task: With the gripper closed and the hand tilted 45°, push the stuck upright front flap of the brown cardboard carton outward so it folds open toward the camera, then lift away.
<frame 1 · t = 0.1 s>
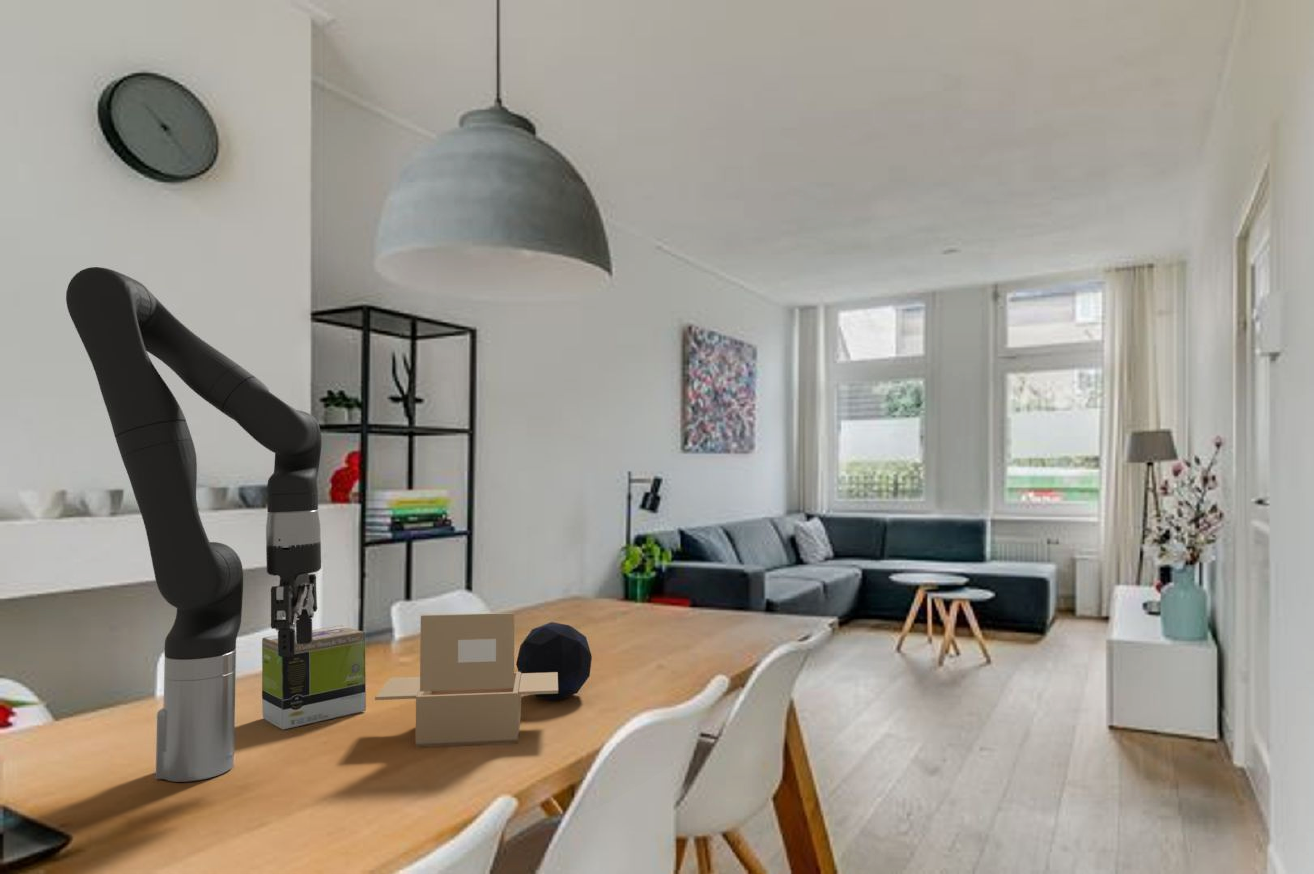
hand: (296, 649, 122), 17 cm above the table, tool pointing down, fingers open, 8 cm apart
tea box: (313, 716, 146), on the table
front flap: (467, 651, 131), point 15 cm above the table, hinge at 0.0°
carton: (471, 731, 137), on the table
decorative orb: (554, 698, 158), on the table
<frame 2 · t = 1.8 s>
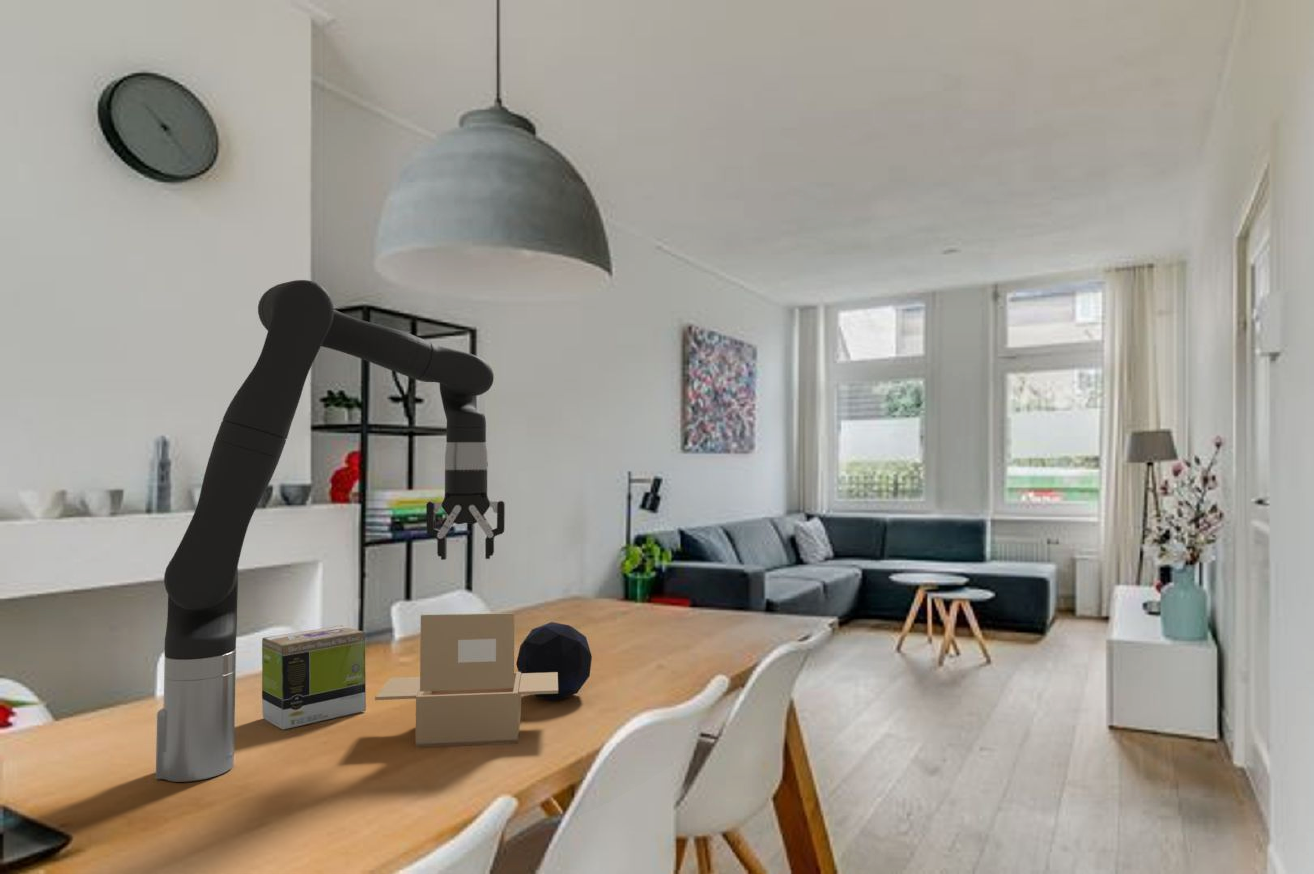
hand: (466, 558, 147), 28 cm above the table, tool pointing down, fingers open, 7 cm apart
nothing on the table moved.
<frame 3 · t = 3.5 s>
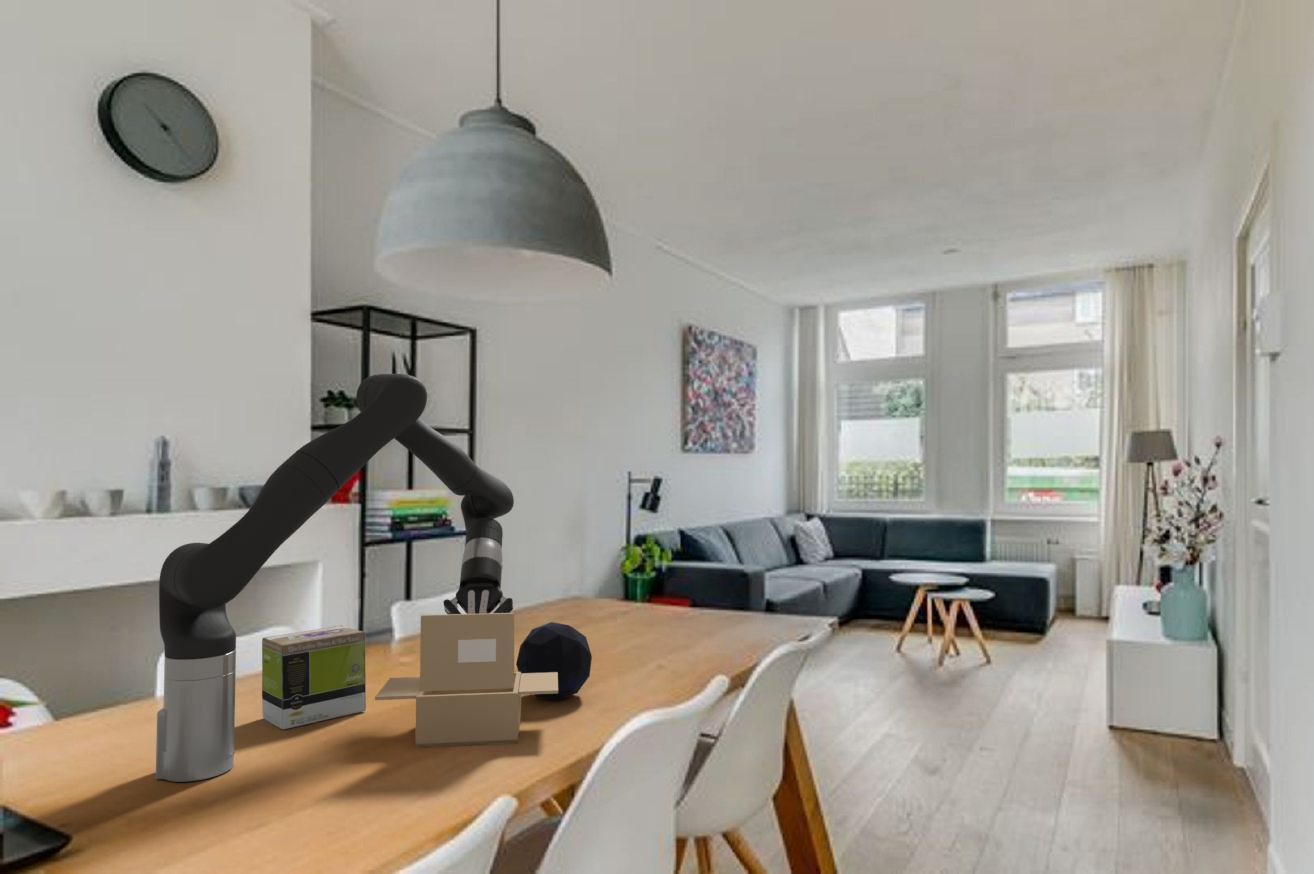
hand: (475, 647, 142), 13 cm above the table, tool tilted 45°, fingers closed
nothing on the table moved.
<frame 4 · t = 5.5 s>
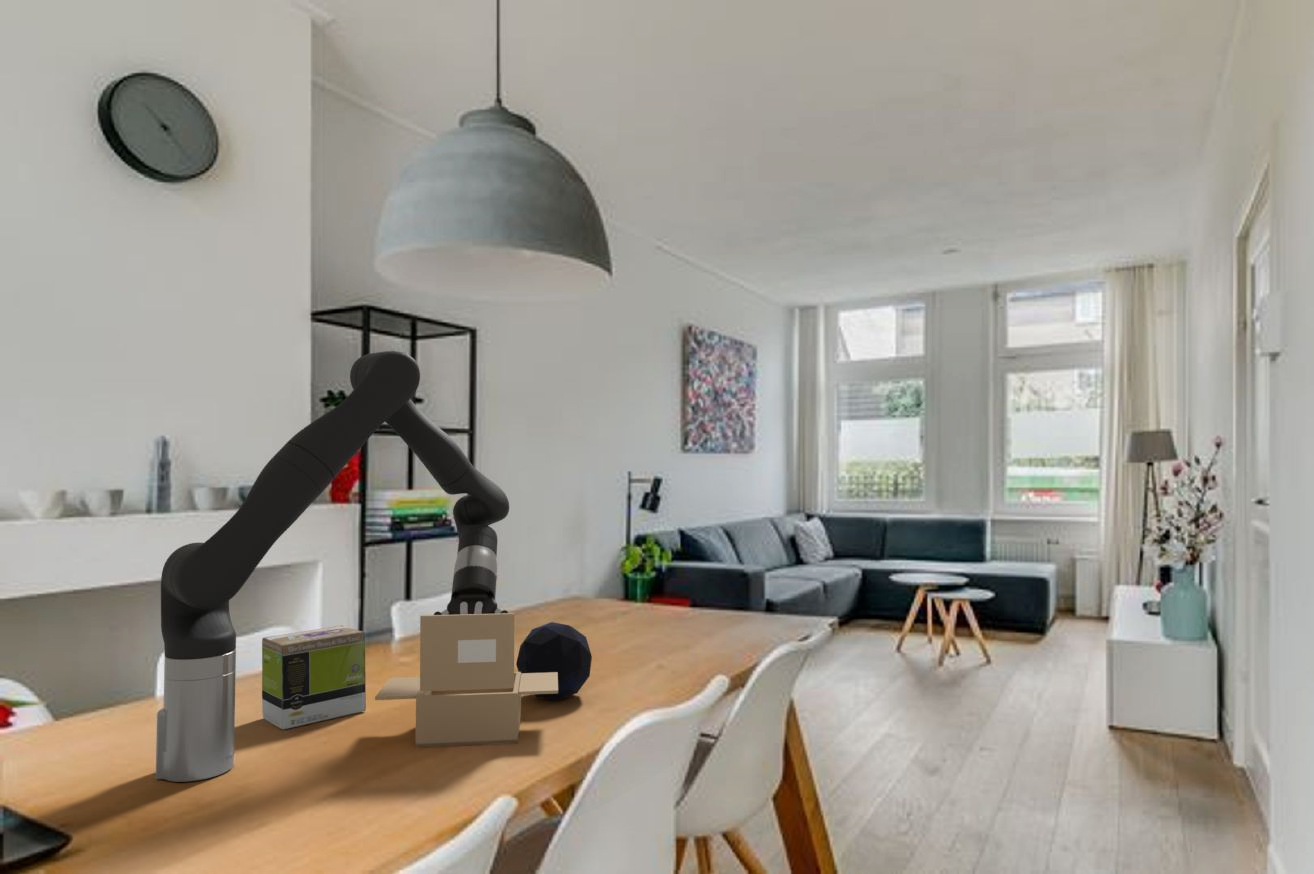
hand: (467, 663, 132), 13 cm above the table, tool tilted 45°, fingers closed
front flap: (467, 651, 131), point 15 cm above the table, hinge at 1.7°, touching gripper
everything else where it was.
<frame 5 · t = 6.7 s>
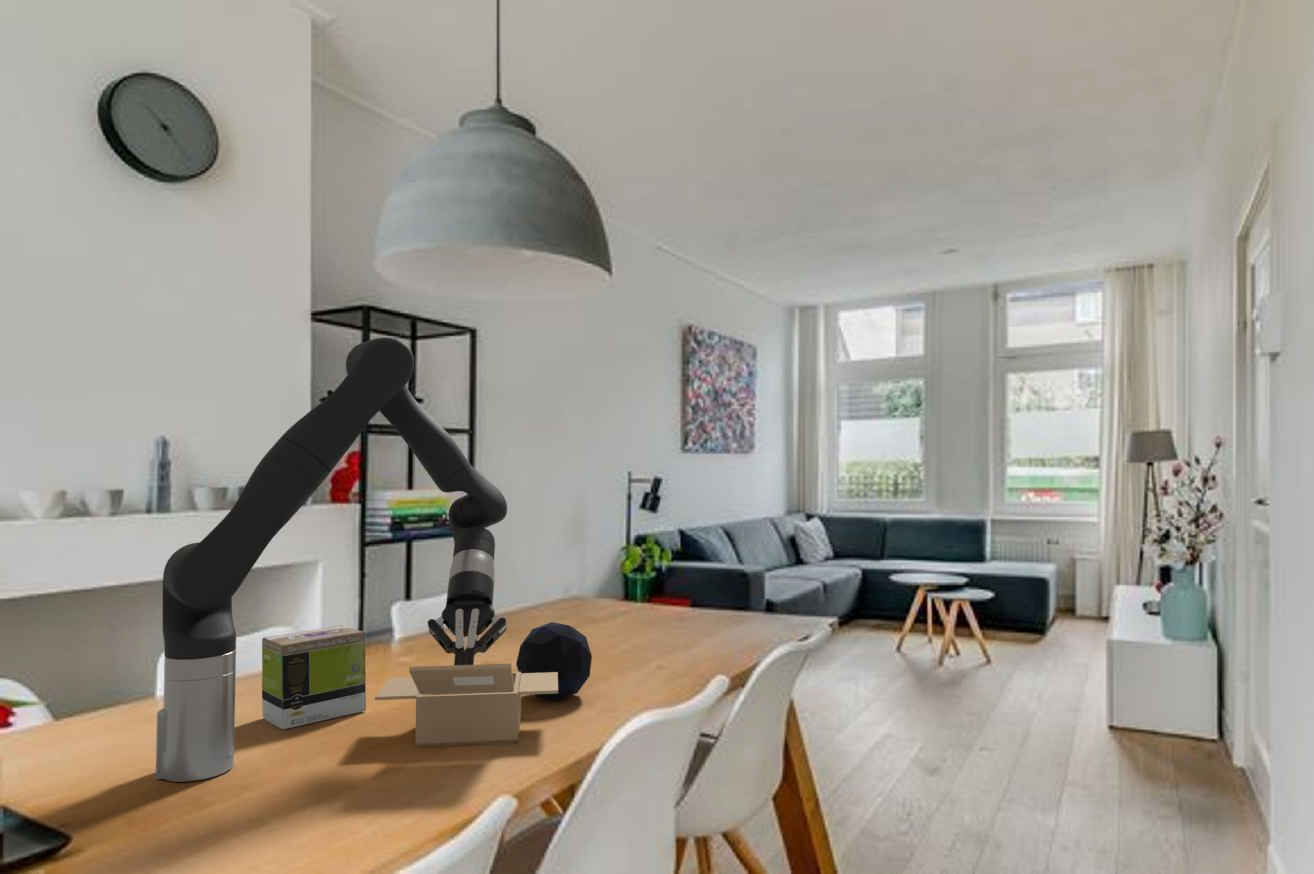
hand: (463, 673, 125), 13 cm above the table, tool tilted 45°, fingers closed
front flap: (464, 679, 126), point 12 cm above the table, hinge at 59.0°, touching gripper
everything else where it was.
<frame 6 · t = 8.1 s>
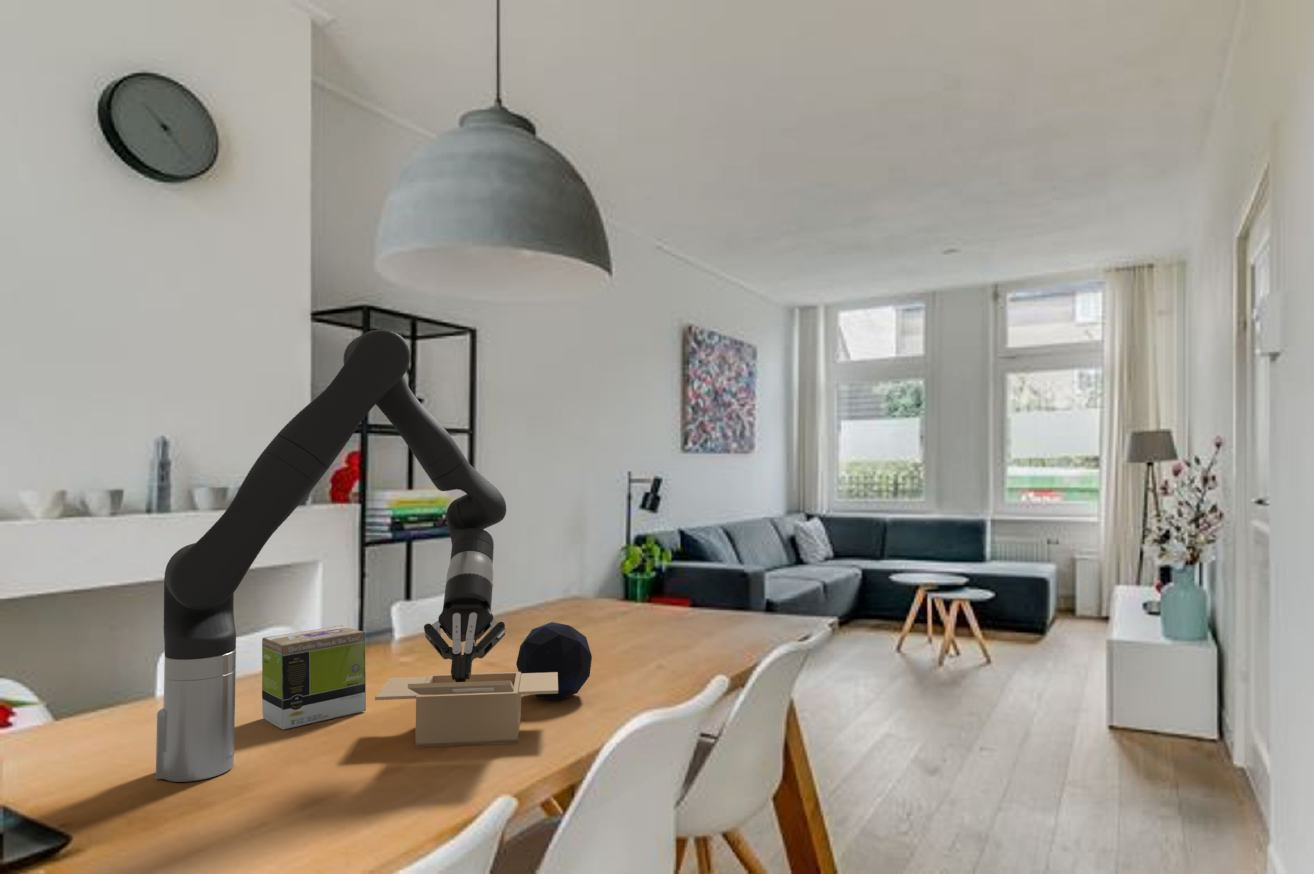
hand: (460, 680, 121), 13 cm above the table, tool tilted 45°, fingers closed
front flap: (463, 688, 125), point 11 cm above the table, hinge at 70.5°, touching gripper
everything else where it was.
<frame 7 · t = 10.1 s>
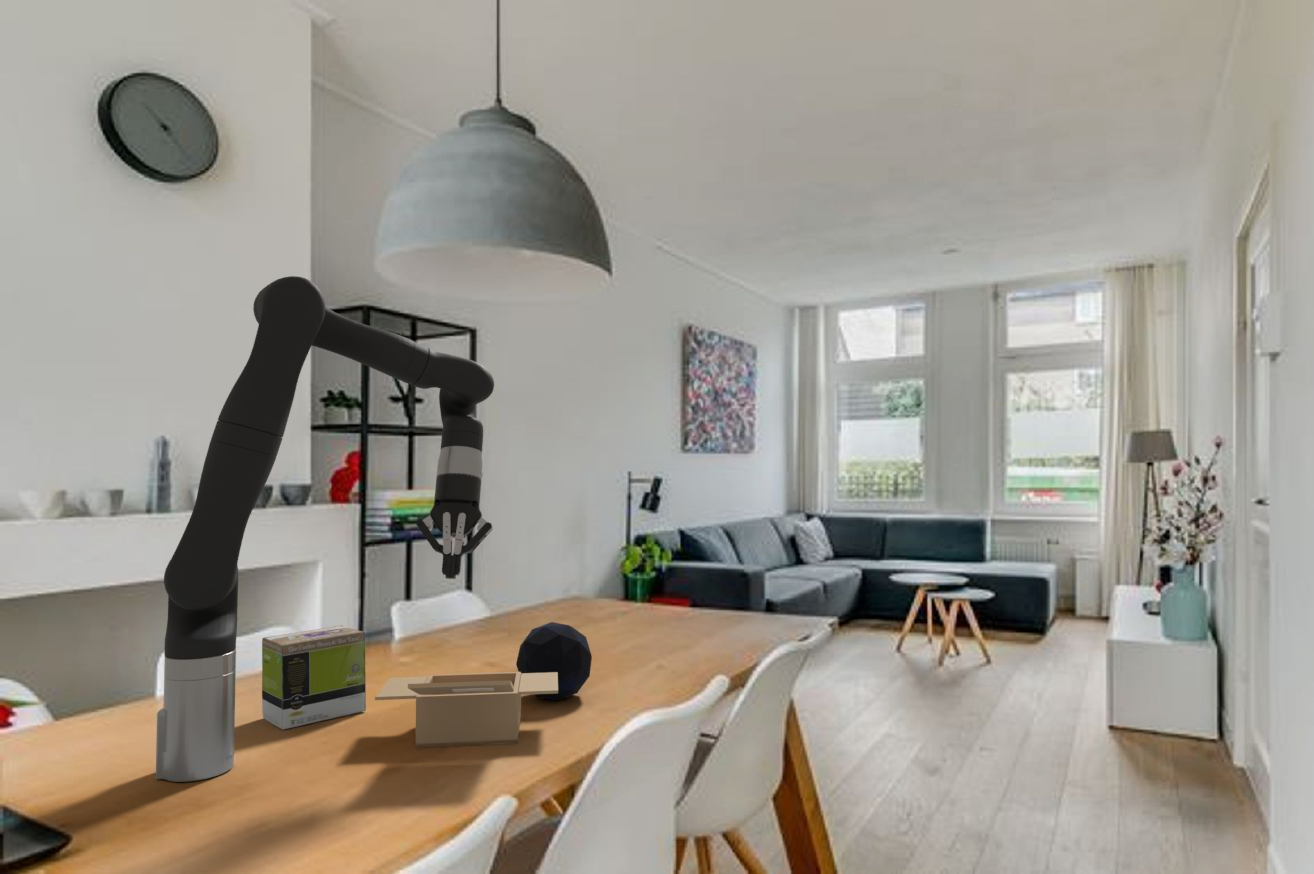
hand: (450, 578, 135), 26 cm above the table, tool pointing down, fingers closed
front flap: (463, 688, 125), point 11 cm above the table, hinge at 70.5°
everything else where it was.
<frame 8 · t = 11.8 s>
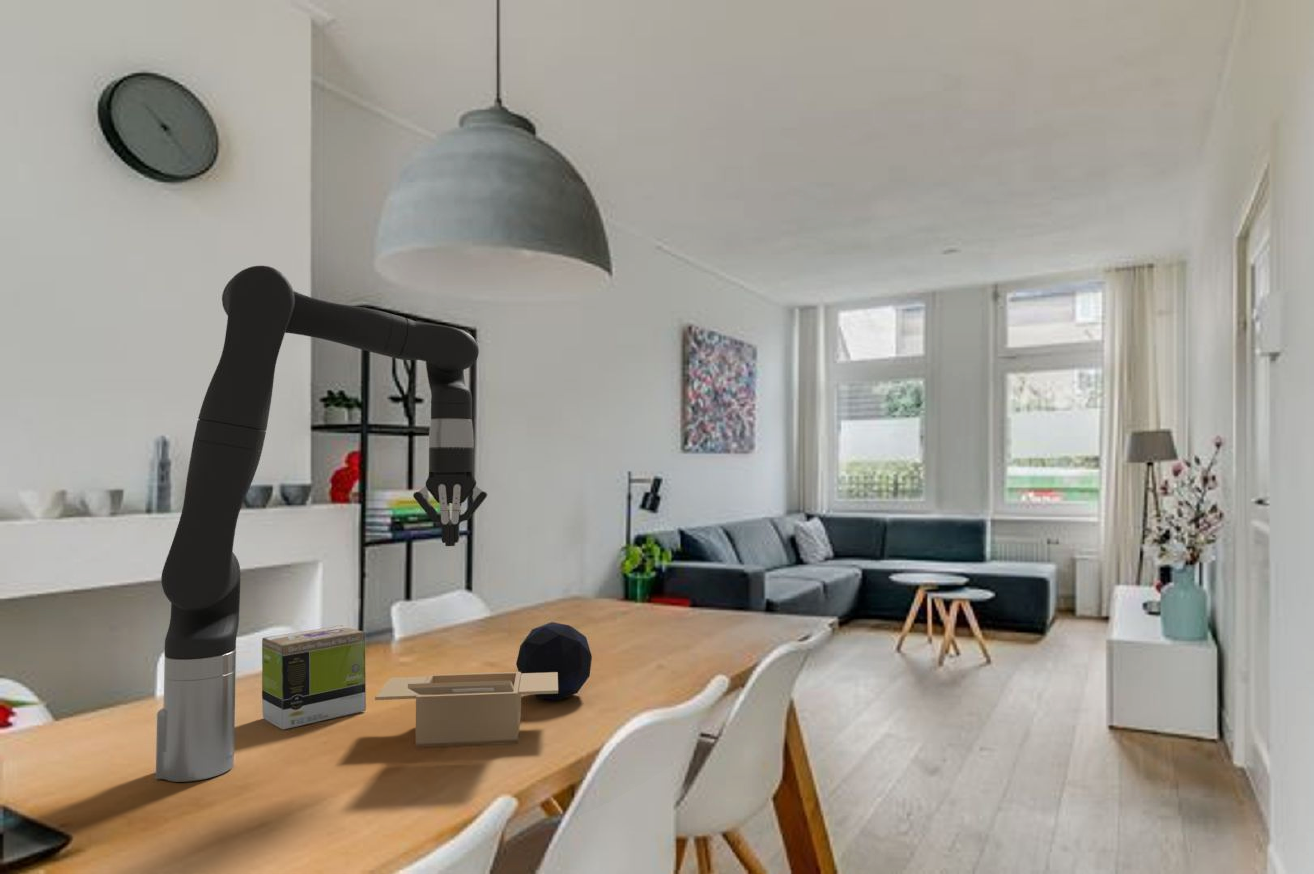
hand: (450, 545, 141), 31 cm above the table, tool pointing down, fingers closed
nothing on the table moved.
at the end: front flap at +70° (first picture: +0°); the gripper is holding nothing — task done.
